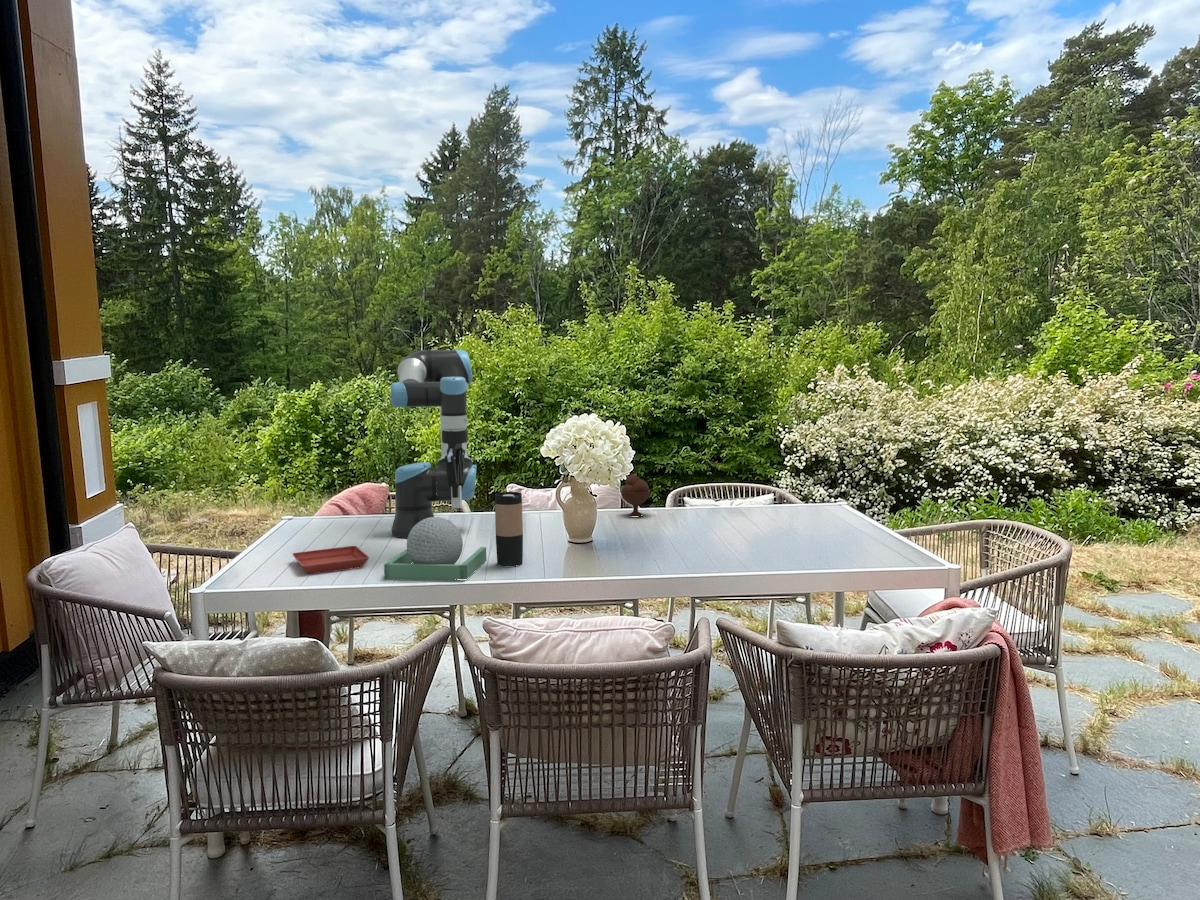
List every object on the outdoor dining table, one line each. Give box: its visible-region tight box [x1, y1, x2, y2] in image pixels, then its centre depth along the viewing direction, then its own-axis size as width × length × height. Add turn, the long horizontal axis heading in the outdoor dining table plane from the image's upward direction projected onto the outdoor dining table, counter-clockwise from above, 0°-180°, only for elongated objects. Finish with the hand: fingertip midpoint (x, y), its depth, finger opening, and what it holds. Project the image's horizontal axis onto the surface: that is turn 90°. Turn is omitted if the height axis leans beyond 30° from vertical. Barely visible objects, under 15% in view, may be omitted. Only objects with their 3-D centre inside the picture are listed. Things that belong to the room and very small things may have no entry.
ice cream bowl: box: [620, 474, 651, 517], centre depth 297 cm, size 11×11×15 cm
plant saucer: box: [291, 545, 370, 575], centre depth 231 cm, size 18×18×3 cm
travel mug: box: [494, 491, 524, 567], centre depth 229 cm, size 8×8×20 cm
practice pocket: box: [383, 546, 487, 581], centre depth 224 cm, size 22×22×4 cm
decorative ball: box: [406, 516, 464, 564], centre depth 222 cm, size 15×15×15 cm
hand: (456, 507), depth 244 cm, fingers closed
